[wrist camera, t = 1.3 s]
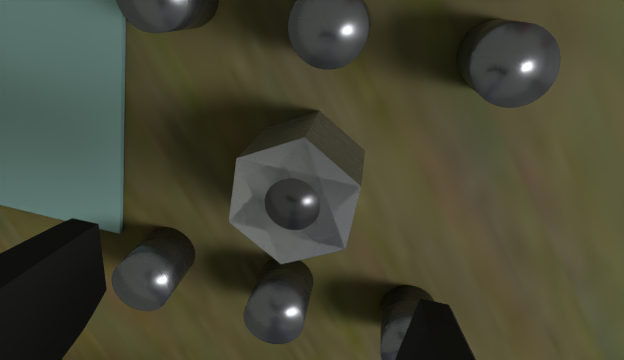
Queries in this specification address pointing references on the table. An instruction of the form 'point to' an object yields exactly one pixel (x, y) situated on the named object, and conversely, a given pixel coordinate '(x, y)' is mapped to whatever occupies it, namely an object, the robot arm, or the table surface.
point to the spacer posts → (327, 55)
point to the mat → (63, 109)
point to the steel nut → (298, 188)
